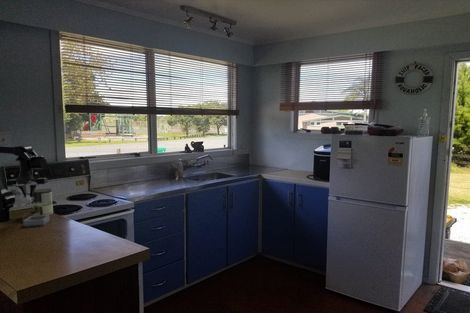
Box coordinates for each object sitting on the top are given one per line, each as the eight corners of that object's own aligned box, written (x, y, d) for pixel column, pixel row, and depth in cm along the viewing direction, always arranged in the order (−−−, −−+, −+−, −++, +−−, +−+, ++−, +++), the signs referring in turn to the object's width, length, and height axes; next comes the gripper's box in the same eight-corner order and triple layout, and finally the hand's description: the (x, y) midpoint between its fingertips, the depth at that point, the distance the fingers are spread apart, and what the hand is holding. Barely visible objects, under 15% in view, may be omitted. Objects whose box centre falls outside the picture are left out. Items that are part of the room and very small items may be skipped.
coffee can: (32, 217, 196) (30, 192, 194) (34, 213, 205) (32, 189, 204) (53, 214, 200) (51, 190, 199) (53, 210, 209) (52, 188, 208)
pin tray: (30, 221, 186) (30, 216, 186) (49, 220, 188) (49, 215, 187) (23, 226, 177) (23, 221, 176) (43, 225, 178) (43, 219, 178)
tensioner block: (28, 217, 194) (28, 210, 194) (40, 216, 196) (39, 209, 195) (22, 222, 186) (21, 214, 185) (34, 221, 187) (34, 213, 186)
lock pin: (27, 203, 189) (26, 192, 188) (32, 203, 189) (31, 192, 189) (25, 204, 186) (24, 193, 186) (30, 204, 187) (29, 193, 186)
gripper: (0, 171, 176) (2, 201, 178) (39, 169, 180) (42, 199, 182) (9, 169, 187) (11, 197, 189) (46, 167, 191) (49, 195, 192)
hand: (28, 197), depth 187 cm, fingers closed on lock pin, 2 cm apart
